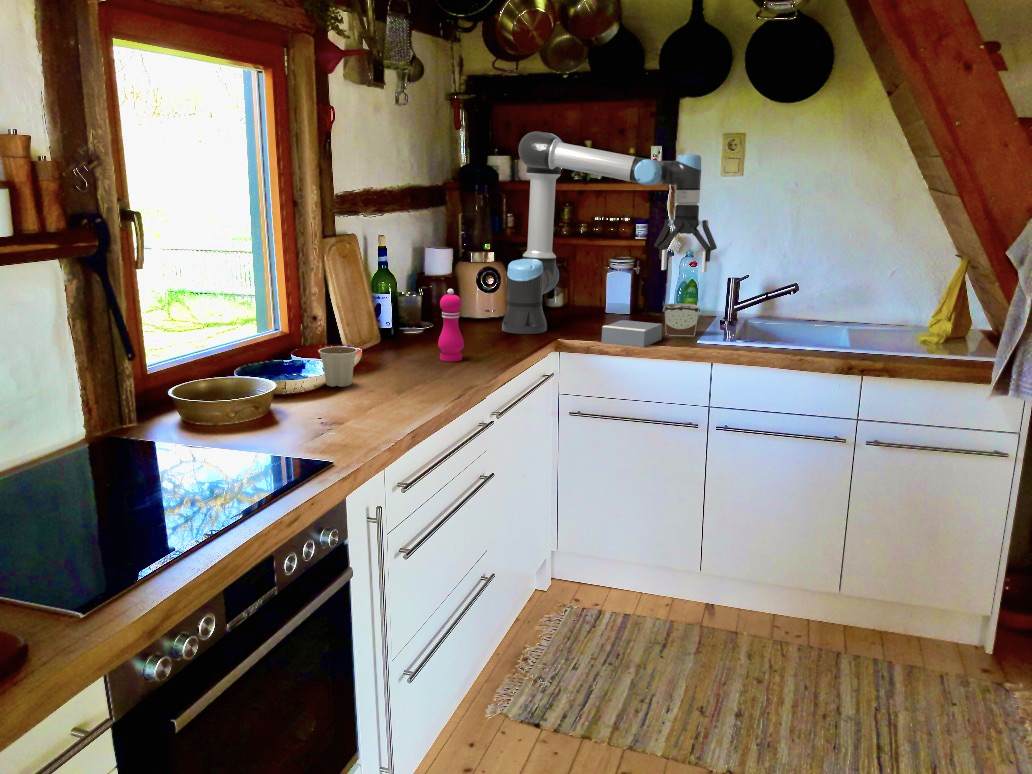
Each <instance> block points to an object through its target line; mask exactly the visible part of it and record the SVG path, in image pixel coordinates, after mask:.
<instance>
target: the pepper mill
mask: <svg viewBox="0 0 1032 774" xmlns="http://www.w3.org/2000/svg"><path fill="white" fill-rule="evenodd" d="M446 291H447V294H444V295H442V297H441V298H440V301H439V307H440V309H441V310H442V311H441V317H442V318H443V323H442V324H443V326H442V330H441V332H440V335H439V337H438V344H437V347H438V348H439V350H441V352H440V353H439V360H440V361H443V362H450V363H451V362H453V363H454V362H459V361H462V360H463V352H461V351H462V350H463V349H464V347H465V342H464V341H465V340H464V338H463V337H464V336H463V335H462V333H461V330H460V326H459V318H460V317H461V316H460V313H461V312H460V310H461V308H462V299H461V298H460V297H459V296H458V295H456V294H455V291H454V289H453V288H448V290H446Z"/></svg>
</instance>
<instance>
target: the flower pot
mask: <svg viewBox="0 0 1032 774" xmlns="http://www.w3.org/2000/svg"><path fill="white" fill-rule="evenodd" d="M317 351H318V353H319V356H320V358H321V363H322V367H323V373H324V377H325V379H324V380H325V385H326V386H329V387H332V388H334V387H336V386H338V387H341V388H343V387H349V386H351V384H352V383H353V374H354V367H355V358H356V356H357V352H358V348H356V347H351V346H327V347H322V348H319V349H318V350H317Z"/></svg>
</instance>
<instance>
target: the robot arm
mask: <svg viewBox="0 0 1032 774" xmlns="http://www.w3.org/2000/svg"><path fill="white" fill-rule="evenodd" d="M518 155H519V158H520V160H521V162H522V163H523V164H524V165H525V166H526V175H527V177H529V178H528V179H530V181H529V183H530V185H529V186H530V188H529V206H528V207H529V209H528V229H527V232H528V233H527V248H526V251H525V252H524V253H523V254H522V258H520V259H516V260H512V261H511V262H510V263H509V264H508V265H507V272H506V275H507V309H506V310H505V314H504V317H503V320H502V323H501V330H502V331H503V332H505V333H509V334H516V335H521V334H522V335H525V334H526V335H530V334H531V335H533V334H536V335H537V334H542V333H545V332H547V331H548V324H547V320H546V316H545V313H544V311H543V295H545V294H547V293H549V292H551V291H552V290H553V289H555V287H556V286H557V284H558V282H559V277H560V272H559V269H558V266H557V256H556V254H555V253H554V252H553V240H554V223H555V222H554V219H555V204H556V203H555V202H556V183H557V179H558V178H559V177H560V176H561V173H562V169H566V170H571V171H576V172H582V173H585V174H586V173H587V174H591V175H597V176H602V177H607V178H613V179H617V180H622V181H626V182H632V183H636V184H640V185H643V186H675V187H676V188H675V203H676V205H675V206H674V207H675V208H674V219H670V218H667V219H665V220H664V224H663V225H664V226H663V227H662V229H661V231H660V233H659V235H658V237H657V238H656V241H655V243H654V244H653V247H654V248H657V249H659V252H658V254H659V255H658V257H659V260H661V269H660V270H661V271H665V270H667V266H668V265H667V263H668V249H666V248H667V247H668V245H669V244H671V242H672V241H673V240H674V238H675V237H676V236H677V235H679V234H682V235H683V234H687V235H690V234H692V235H693V236H694V237H695V238H696V240H697V241H698V243H699V244H700V245H701V246H702V248H703V249H704V251H702V260H701V262H702V263H701V273H707V271H708V269H707V268H708V263H709V262H710V261H711V252H712V251H715V250H717V248H718V246H717V244H716V241H715V239H714V236H713V234H712V232H711V230H710V228H709V227H710V226H709V220H708V219H704V220H703V219H702V220H699V219H700V218H699V215H700V206H699V203H700V196H701V193H700V192H701V181H702V179H701V178H702V156H701V155H700V154H695V153H688V154H687V153H686V154H685V153H684V154H682V153H681V154H678V155H677V158H676V160H655V159H650V158H643V157H639V156H638V157H637V156H633V155H627V154H622V153H616V152H611V151H607V150H601V149H596V148H592V147H591V148H590V147H586V146H580V145H575V144H569V143H567V142H566V143H565V142H564V141H562V140H561V138H560V137H559V136H557V135H555V134H553V133H552V132H551V133H549V132H542V131H531V132H528V133H527V134H525V135H524V136H523V137H522V138H521V140H520V141H519V144H518ZM672 226H674V229H673V230H672V231H671V233H670V234H669V235H668V236H667V237H666V235H667V233H668V232H669V229H670V227H672ZM699 226H700V227H701V228H702V230H703V233H704V235H705V237H706V239H707V241H706V239H705V237H704V236H703V235H702V234H701V232H700V231H699V229H698V227H699ZM665 237H666V238H665ZM664 239H665V240H664Z"/></svg>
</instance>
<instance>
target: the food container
mask: <svg viewBox="0 0 1032 774" xmlns="http://www.w3.org/2000/svg"><path fill="white" fill-rule="evenodd" d="M662 312H664V321H665V323H664V325H665V336H666V335H669V337H670V336H671V337H672V336H673V337H695V336H696V331H697V326H698V325H697V324H698V319H699V313H700V314H701V312H702V311H701V308H700V305H698V304H693V303H692V304H691V303H679V302H678V303H667V304H664V307H663V309H662Z"/></svg>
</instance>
